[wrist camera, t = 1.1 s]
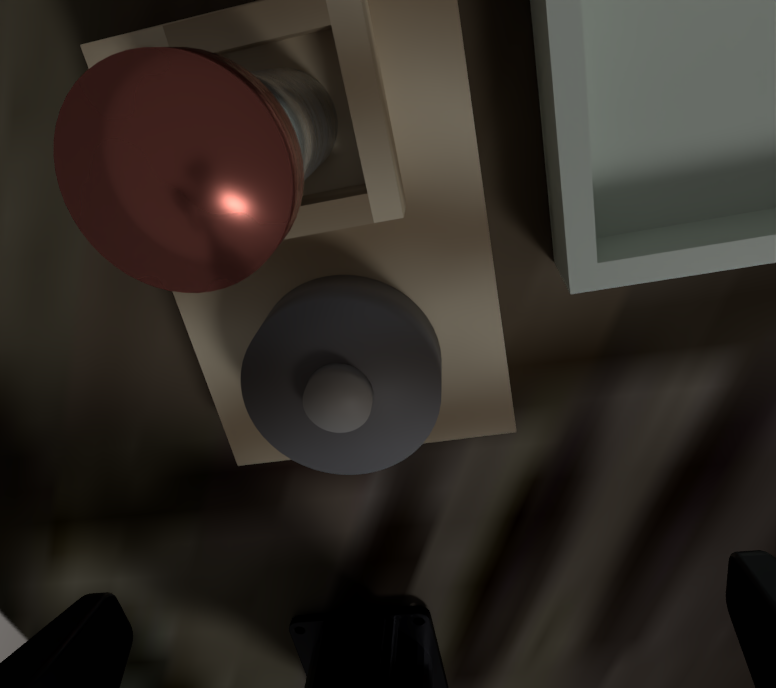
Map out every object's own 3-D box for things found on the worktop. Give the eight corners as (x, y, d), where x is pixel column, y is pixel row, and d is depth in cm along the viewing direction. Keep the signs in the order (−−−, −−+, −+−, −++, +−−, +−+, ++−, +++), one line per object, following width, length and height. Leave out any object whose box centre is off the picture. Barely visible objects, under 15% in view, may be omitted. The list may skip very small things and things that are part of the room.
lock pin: (369, 179, 17) (317, 273, 10) (243, 203, 18) (110, 308, 11) (337, 31, 16) (250, 19, 9) (200, 63, 16) (11, 77, 9)
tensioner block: (510, 400, 22) (525, 481, 18) (253, 434, 24) (213, 515, 20) (449, -38, 17) (452, -66, 12) (115, 44, 18) (19, 44, 14)
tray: (893, 207, 18) (964, 233, 16) (554, 263, 20) (570, 294, 17) (970, -329, 13) (1092, -415, 11) (511, -198, 15) (525, -247, 12)
